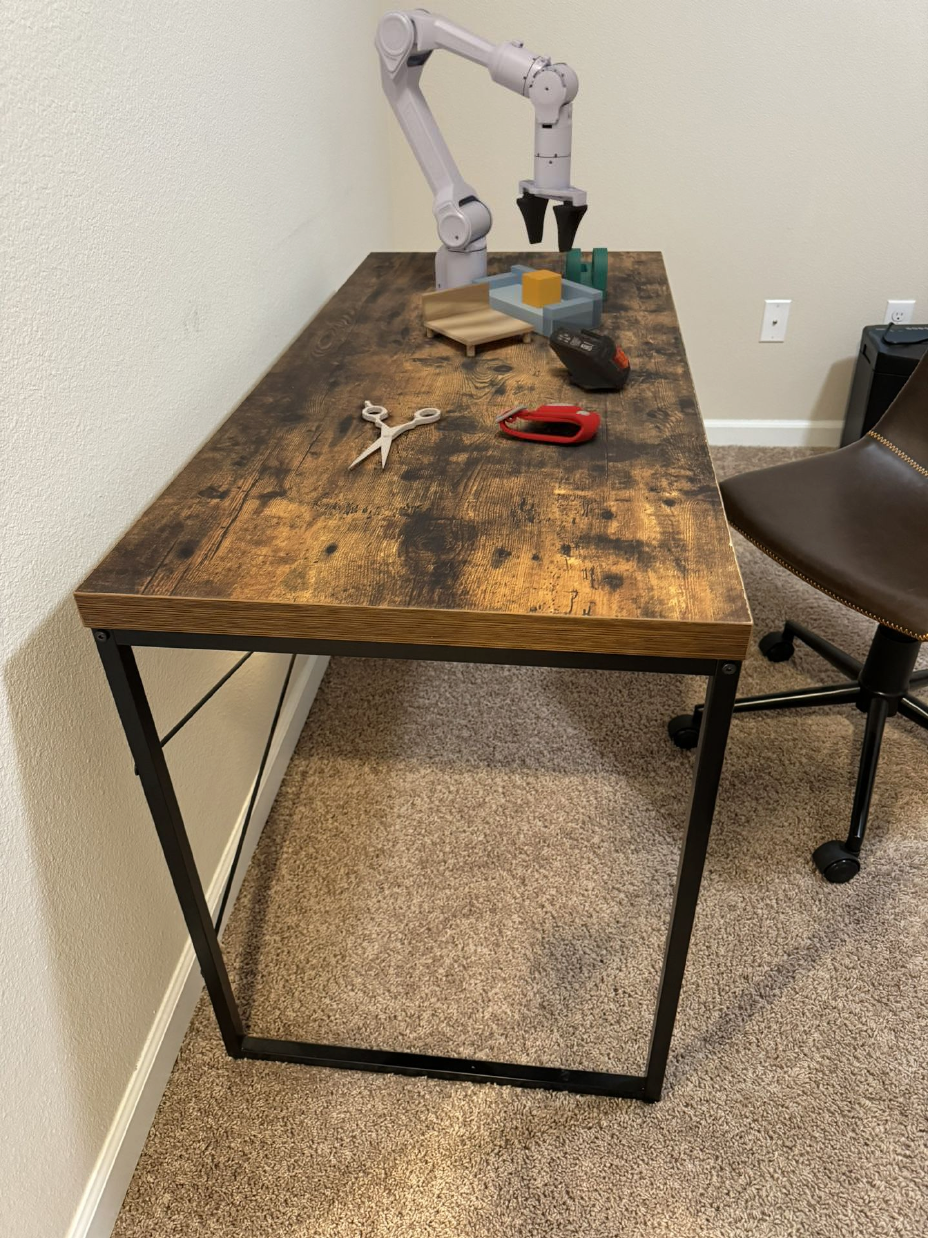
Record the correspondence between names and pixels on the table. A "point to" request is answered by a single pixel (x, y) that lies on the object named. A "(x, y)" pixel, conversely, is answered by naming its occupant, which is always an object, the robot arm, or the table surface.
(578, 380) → the battery
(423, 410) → the scissors
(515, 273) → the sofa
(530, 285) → the block
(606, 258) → the bracket
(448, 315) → the low wooden bench
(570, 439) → the tracker holder
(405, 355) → the table surface
